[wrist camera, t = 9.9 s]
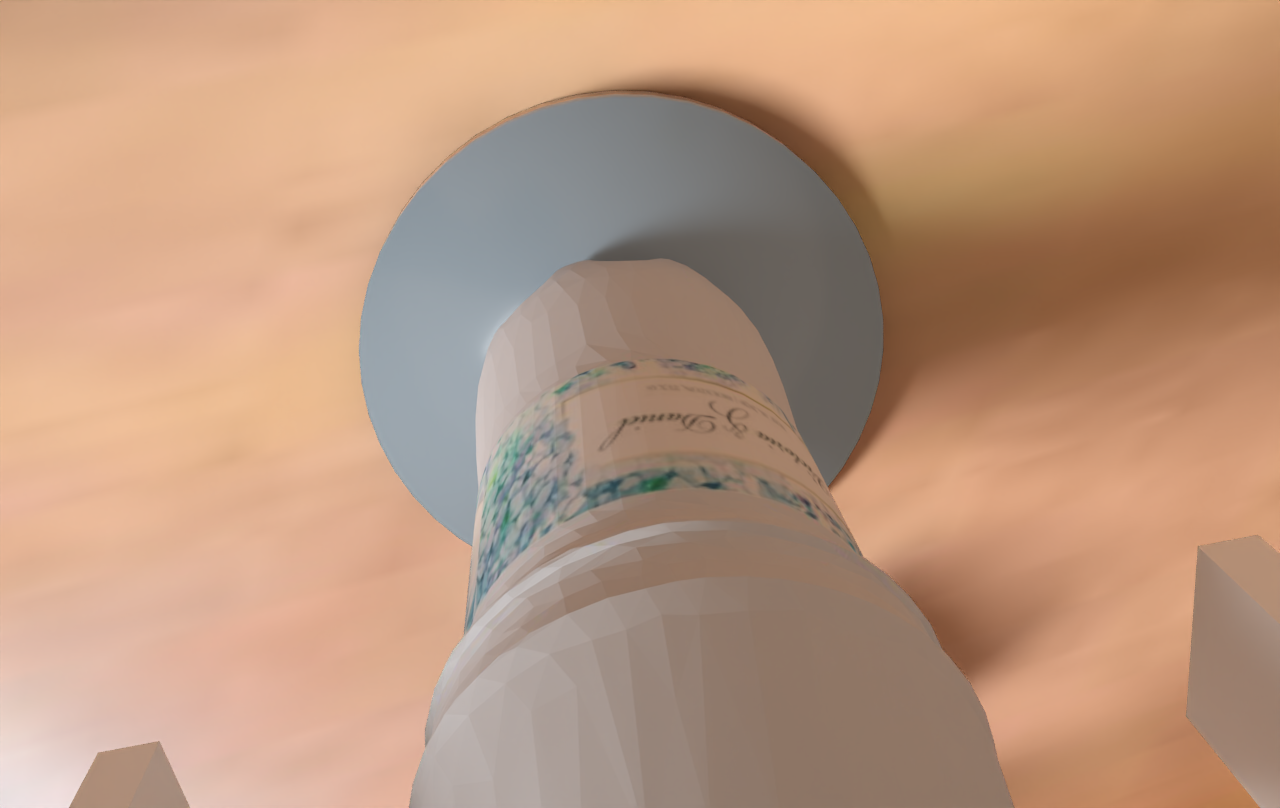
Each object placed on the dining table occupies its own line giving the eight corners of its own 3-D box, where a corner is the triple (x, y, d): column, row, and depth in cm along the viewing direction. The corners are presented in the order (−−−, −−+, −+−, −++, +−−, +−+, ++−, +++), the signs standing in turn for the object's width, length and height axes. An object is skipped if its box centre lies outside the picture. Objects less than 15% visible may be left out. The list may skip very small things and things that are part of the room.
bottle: (814, 287, 24) (1663, 1413, 6) (692, 528, 26) (1039, 1860, 8) (535, 176, 23) (537, 1255, 4) (432, 443, 25) (158, 1862, 7)
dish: (300, 144, 23) (290, 154, 22) (850, 44, 23) (863, 49, 22) (436, 602, 28) (432, 625, 27) (886, 518, 28) (898, 538, 27)
